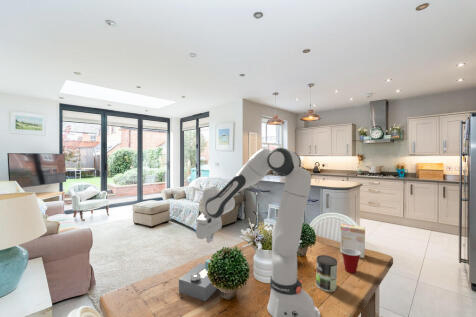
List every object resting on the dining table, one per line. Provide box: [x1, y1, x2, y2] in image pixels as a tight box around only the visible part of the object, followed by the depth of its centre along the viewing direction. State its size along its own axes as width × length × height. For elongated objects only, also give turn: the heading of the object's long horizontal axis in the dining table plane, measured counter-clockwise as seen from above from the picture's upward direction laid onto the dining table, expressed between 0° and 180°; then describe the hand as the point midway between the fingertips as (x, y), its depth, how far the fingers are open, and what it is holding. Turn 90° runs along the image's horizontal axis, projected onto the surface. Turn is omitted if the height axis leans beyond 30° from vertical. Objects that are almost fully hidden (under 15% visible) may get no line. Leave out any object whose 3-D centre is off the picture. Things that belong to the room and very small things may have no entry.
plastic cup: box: [341, 248, 361, 274], centre depth 132 cm, size 11×11×12 cm
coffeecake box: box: [339, 223, 366, 259], centre depth 155 cm, size 15×7×20 cm, turn 58°
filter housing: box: [178, 262, 217, 302], centre depth 115 cm, size 18×16×6 cm
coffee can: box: [315, 254, 338, 293], centre depth 117 cm, size 10×10×14 cm
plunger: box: [191, 273, 200, 283], centre depth 109 cm, size 5×5×6 cm
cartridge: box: [199, 258, 211, 278], centre depth 117 cm, size 12×5×8 cm, turn 155°
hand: (210, 241), depth 120 cm, fingers closed
